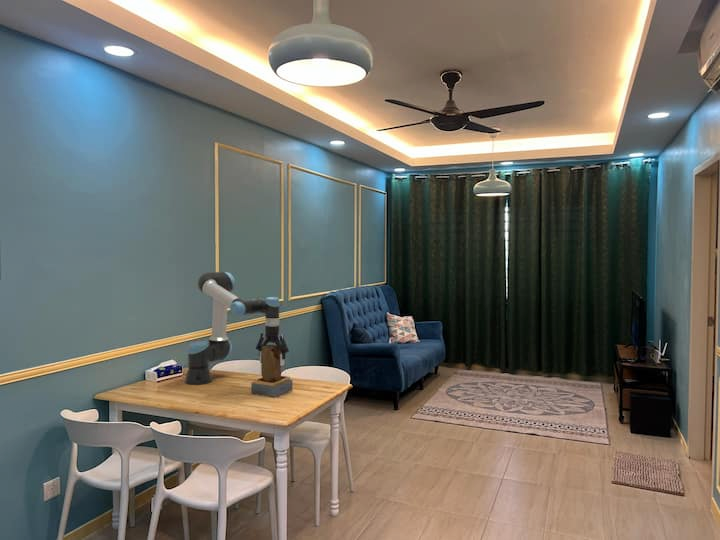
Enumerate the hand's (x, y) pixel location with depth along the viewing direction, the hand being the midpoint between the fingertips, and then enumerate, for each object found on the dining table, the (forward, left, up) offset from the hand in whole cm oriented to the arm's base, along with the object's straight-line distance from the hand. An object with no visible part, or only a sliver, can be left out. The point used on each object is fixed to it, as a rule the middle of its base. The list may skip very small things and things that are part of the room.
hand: (271, 363), depth 293 cm
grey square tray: (0, 0, -16) cm, 16 cm away
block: (0, 0, -10) cm, 10 cm away
